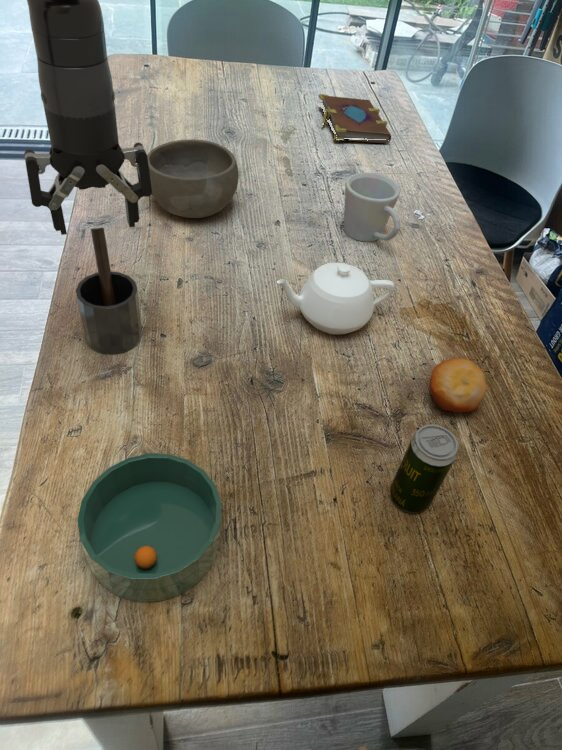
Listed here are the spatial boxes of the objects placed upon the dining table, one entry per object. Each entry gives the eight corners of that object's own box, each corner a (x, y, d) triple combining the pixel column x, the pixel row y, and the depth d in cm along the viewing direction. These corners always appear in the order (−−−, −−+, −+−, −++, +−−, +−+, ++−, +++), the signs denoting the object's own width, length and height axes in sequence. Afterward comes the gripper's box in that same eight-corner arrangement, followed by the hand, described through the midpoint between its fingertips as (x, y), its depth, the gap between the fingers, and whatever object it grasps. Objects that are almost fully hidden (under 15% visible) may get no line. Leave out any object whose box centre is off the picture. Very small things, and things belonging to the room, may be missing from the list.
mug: (369, 213, 121) (380, 168, 114) (411, 253, 113) (426, 207, 105) (327, 222, 117) (335, 176, 110) (367, 264, 109) (379, 217, 101)
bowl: (143, 184, 120) (139, 137, 113) (228, 181, 124) (229, 135, 117) (152, 231, 109) (148, 182, 102) (244, 226, 113) (247, 179, 106)
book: (364, 106, 161) (369, 88, 157) (390, 149, 145) (395, 129, 141) (308, 101, 157) (311, 82, 154) (327, 144, 141) (331, 123, 137)
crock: (89, 359, 86) (80, 312, 79) (81, 321, 91) (72, 275, 84) (146, 349, 88) (142, 303, 82) (136, 313, 93) (131, 267, 87)
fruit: (468, 366, 90) (491, 354, 83) (470, 417, 89) (494, 409, 81) (417, 364, 90) (436, 352, 82) (419, 415, 88) (438, 407, 80)
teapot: (278, 345, 92) (285, 294, 84) (266, 294, 100) (271, 245, 92) (397, 338, 95) (414, 290, 88) (376, 290, 104) (389, 242, 96)
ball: (141, 540, 63) (149, 542, 65) (126, 558, 63) (134, 559, 65) (157, 555, 63) (164, 556, 65) (142, 573, 62) (149, 573, 64)
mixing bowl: (96, 621, 61) (88, 598, 56) (78, 498, 70) (70, 471, 66) (236, 578, 65) (238, 554, 61) (201, 469, 75) (201, 441, 70)
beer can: (417, 475, 77) (445, 418, 68) (437, 509, 74) (469, 455, 65) (381, 484, 76) (405, 427, 67) (400, 520, 72) (427, 465, 64)
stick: (107, 339, 87) (88, 229, 81) (110, 336, 88) (92, 228, 83) (119, 338, 87) (101, 228, 81) (122, 335, 88) (105, 227, 83)
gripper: (137, 84, 68) (146, 207, 80) (7, 88, 64) (37, 217, 76) (150, 111, 64) (158, 237, 75) (10, 118, 59) (42, 250, 71)
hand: (97, 227), depth 75 cm, fingers open, 8 cm apart
